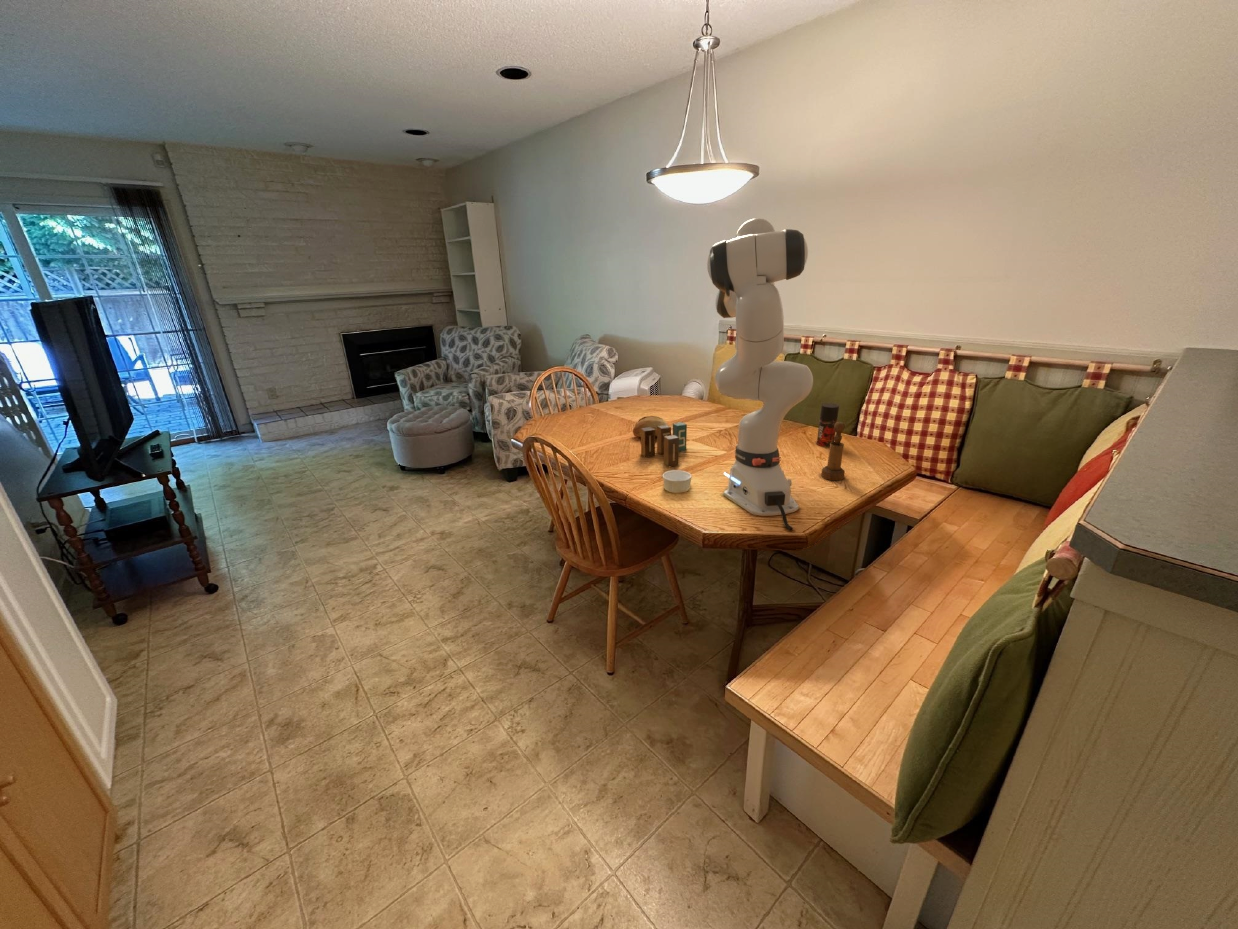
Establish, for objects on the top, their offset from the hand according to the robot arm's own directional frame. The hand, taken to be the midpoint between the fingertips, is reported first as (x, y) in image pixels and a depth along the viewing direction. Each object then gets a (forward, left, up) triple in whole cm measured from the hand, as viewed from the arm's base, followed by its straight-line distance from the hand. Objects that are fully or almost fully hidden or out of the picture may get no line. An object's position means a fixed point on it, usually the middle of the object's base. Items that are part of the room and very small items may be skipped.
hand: (754, 366), depth 163 cm
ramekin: (-23, +35, -31) cm, 52 cm away
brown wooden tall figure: (-28, -15, -31) cm, 45 cm away
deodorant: (0, -31, -31) cm, 44 cm away
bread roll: (+29, +29, -31) cm, 52 cm away
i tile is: (-3, +31, -31) cm, 44 cm away
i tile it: (+8, +36, -31) cm, 48 cm away
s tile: (+10, +23, -31) cm, 40 cm away
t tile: (+9, +30, -31) cm, 44 cm away
